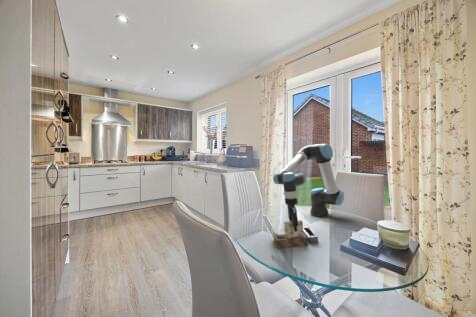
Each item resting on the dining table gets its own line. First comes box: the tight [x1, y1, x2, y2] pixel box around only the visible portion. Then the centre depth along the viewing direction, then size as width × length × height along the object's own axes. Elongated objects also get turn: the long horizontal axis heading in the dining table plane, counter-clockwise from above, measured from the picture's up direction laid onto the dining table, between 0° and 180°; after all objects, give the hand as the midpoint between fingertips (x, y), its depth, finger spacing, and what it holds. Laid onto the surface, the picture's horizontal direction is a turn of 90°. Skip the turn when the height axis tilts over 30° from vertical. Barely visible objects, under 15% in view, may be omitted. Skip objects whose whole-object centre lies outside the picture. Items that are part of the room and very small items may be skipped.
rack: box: [272, 231, 309, 249], centre depth 127 cm, size 19×12×5 cm, turn 88°
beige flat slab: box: [283, 219, 304, 239], centre depth 124 cm, size 11×2×15 cm, turn 88°
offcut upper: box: [275, 230, 285, 238], centre depth 130 cm, size 5×5×3 cm
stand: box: [303, 226, 319, 244], centre depth 131 cm, size 16×5×4 cm, turn 178°
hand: (294, 233), depth 124 cm, fingers open, 7 cm apart
